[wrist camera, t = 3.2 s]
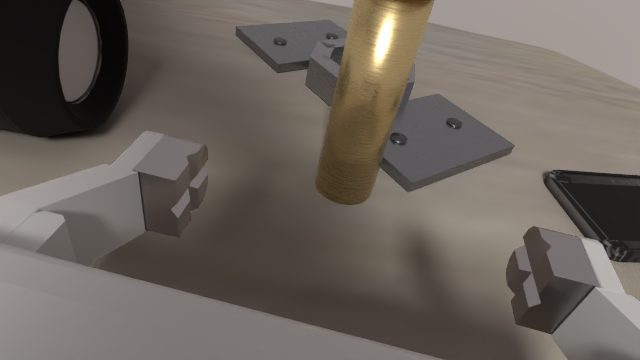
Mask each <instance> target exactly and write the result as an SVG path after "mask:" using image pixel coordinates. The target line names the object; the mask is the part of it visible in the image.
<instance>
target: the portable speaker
mask: <svg viewBox="0 0 640 360" xmlns="http://www.w3.org/2000/svg"><path fill="white" fill-rule="evenodd" d="M127 63H128V31H127V24H126V19H125V15H124V10H123V7H122V5H121V2H120V0H0V129H2V130H8V131H14V132H19V133H24V134H29V135H33V136H38V137H45V136H52V135H58V134H64V133H70V132H75V131H81V130H87V129H91V128H94V127H97V126H99V125H100V124H102V123H103V122H104V121H105V120H106V119H107V118H108V117H109V115H110V114H111V113H112V111H113V109H114V107H115V106H116V104H117V102H118V100H119V97H120V94H121V92H122V88H123V85H124V81H125V76H126V70H127Z"/></svg>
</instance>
